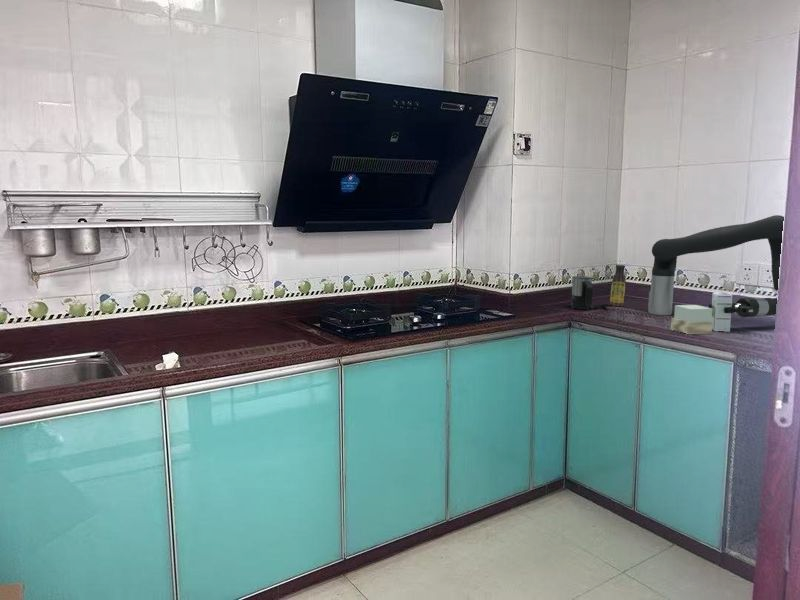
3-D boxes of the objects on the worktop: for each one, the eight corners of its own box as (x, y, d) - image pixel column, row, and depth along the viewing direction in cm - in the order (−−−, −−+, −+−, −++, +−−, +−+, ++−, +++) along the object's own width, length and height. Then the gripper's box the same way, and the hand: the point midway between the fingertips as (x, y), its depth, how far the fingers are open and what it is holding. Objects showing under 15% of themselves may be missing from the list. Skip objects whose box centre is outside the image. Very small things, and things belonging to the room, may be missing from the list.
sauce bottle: (609, 306, 287) (612, 264, 284) (609, 304, 293) (612, 263, 290) (624, 306, 285) (626, 265, 282) (624, 305, 291) (626, 264, 288)
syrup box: (730, 332, 227) (733, 294, 225) (713, 331, 228) (716, 293, 226) (725, 329, 233) (728, 292, 230) (709, 328, 234) (712, 291, 232)
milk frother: (566, 307, 283) (567, 276, 281) (592, 305, 289) (593, 274, 287) (587, 312, 270) (588, 279, 268) (613, 309, 277) (615, 278, 274)
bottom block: (670, 330, 231) (671, 318, 230) (692, 329, 233) (693, 317, 232) (688, 336, 221) (689, 322, 220) (711, 334, 224) (712, 321, 223)
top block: (674, 318, 230) (675, 305, 229) (694, 317, 231) (695, 304, 231) (689, 322, 221) (690, 309, 220) (711, 321, 223) (712, 308, 222)
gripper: (738, 295, 239) (703, 296, 235) (768, 300, 225) (732, 301, 221) (736, 313, 240) (702, 315, 236) (766, 320, 226) (730, 321, 222)
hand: (716, 308), depth 229 cm, fingers closed on syrup box, 7 cm apart
